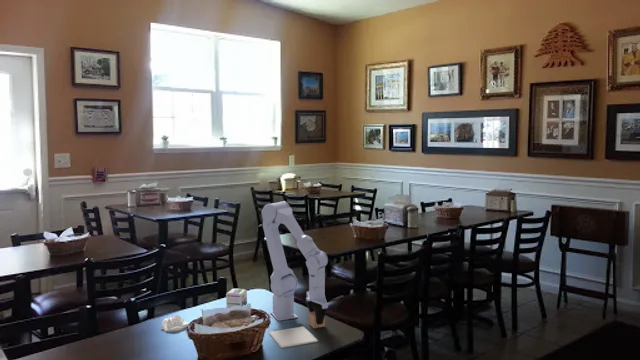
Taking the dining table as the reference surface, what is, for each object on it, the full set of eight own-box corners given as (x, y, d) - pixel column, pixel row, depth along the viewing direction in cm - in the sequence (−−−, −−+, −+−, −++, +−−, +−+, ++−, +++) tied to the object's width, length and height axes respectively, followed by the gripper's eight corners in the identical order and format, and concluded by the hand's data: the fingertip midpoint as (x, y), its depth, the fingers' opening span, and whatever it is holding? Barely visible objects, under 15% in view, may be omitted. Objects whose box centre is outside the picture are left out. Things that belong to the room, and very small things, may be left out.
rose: (158, 313, 187) (185, 309, 191) (159, 325, 187) (185, 320, 192) (164, 322, 178) (191, 318, 182) (164, 335, 178) (192, 329, 183)
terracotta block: (308, 323, 188) (308, 312, 188) (320, 322, 190) (320, 310, 189) (313, 328, 184) (313, 316, 183) (324, 326, 186) (324, 314, 185)
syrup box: (242, 334, 179) (241, 293, 177) (226, 332, 180) (225, 292, 178) (247, 327, 184) (247, 288, 183) (232, 326, 185) (231, 287, 184)
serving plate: (269, 333, 179) (269, 331, 179) (303, 327, 184) (303, 326, 184) (281, 348, 167) (281, 346, 167) (317, 341, 172) (317, 340, 172)
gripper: (299, 281, 190) (299, 316, 192) (315, 292, 177) (315, 330, 178) (316, 279, 193) (316, 313, 194) (333, 290, 180) (333, 327, 181)
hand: (316, 321), depth 187 cm, fingers closed on terracotta block, 4 cm apart
